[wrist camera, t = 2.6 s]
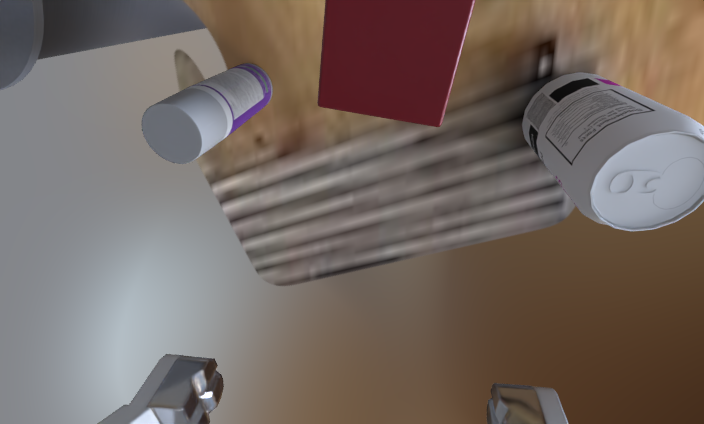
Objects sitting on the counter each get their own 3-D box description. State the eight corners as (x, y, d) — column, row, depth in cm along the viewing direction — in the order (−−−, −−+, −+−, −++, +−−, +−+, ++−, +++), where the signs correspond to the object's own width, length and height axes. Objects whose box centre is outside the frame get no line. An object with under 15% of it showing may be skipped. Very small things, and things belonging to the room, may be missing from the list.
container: (245, 115, 40) (168, 174, 27) (221, 74, 38) (126, 117, 25) (281, 98, 38) (216, 152, 26) (257, 55, 36) (175, 89, 24)
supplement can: (625, 69, 32) (762, 119, 20) (597, 154, 37) (696, 241, 24) (530, 71, 34) (602, 121, 21) (513, 154, 38) (565, 236, 25)
